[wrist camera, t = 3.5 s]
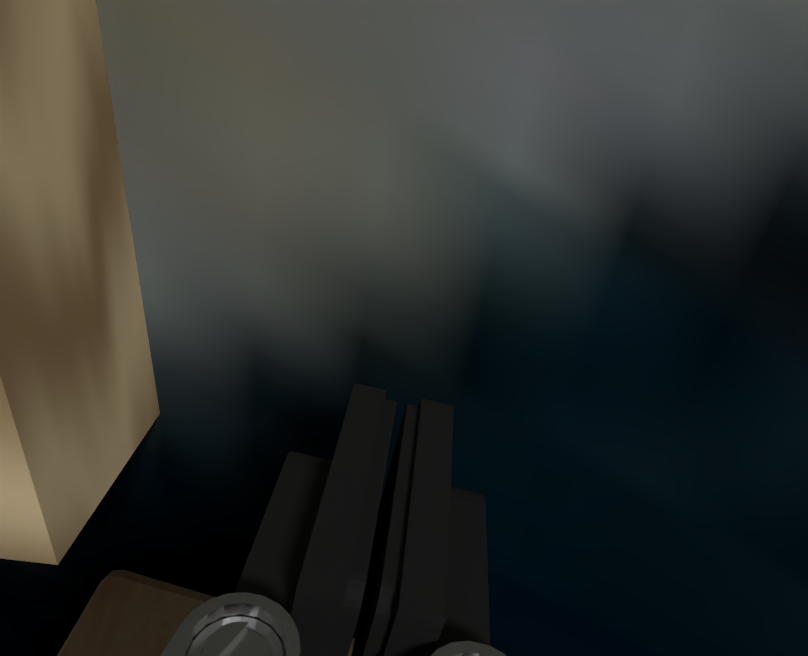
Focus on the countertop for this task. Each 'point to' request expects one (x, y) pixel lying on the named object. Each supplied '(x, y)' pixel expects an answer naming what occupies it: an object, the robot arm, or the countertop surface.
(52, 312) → the oak block
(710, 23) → the countertop surface
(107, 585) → the wooden block
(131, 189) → the countertop surface
